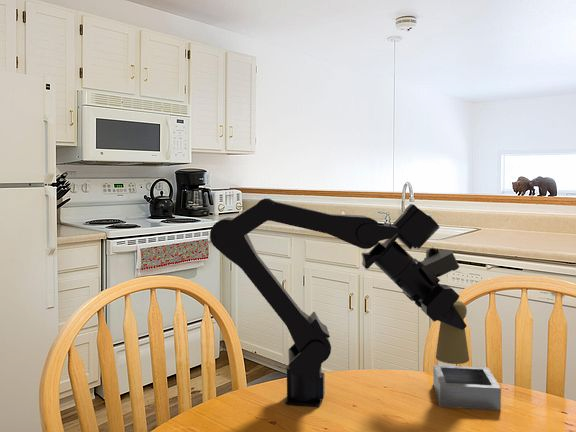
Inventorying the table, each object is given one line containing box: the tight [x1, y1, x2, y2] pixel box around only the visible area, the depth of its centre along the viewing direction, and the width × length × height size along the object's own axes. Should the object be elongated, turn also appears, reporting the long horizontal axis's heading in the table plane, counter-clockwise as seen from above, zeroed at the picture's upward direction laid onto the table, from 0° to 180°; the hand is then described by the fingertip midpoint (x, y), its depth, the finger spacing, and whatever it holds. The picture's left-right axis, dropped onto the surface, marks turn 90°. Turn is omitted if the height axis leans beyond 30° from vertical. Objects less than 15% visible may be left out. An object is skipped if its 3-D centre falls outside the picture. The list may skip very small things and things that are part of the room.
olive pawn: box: [435, 300, 470, 365], centre depth 97 cm, size 6×6×11 cm
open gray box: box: [433, 364, 502, 411], centre depth 97 cm, size 10×10×4 cm
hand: (459, 323), depth 97 cm, fingers closed on olive pawn, 5 cm apart
